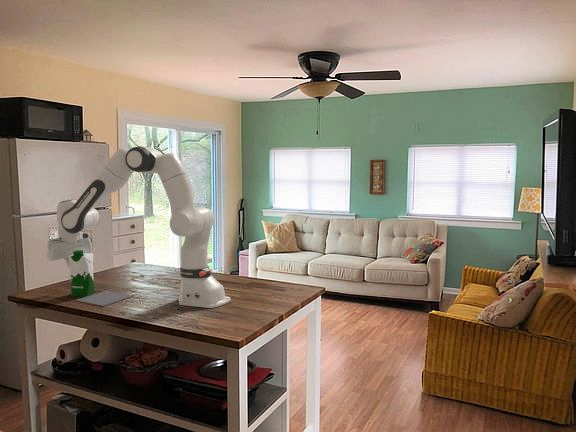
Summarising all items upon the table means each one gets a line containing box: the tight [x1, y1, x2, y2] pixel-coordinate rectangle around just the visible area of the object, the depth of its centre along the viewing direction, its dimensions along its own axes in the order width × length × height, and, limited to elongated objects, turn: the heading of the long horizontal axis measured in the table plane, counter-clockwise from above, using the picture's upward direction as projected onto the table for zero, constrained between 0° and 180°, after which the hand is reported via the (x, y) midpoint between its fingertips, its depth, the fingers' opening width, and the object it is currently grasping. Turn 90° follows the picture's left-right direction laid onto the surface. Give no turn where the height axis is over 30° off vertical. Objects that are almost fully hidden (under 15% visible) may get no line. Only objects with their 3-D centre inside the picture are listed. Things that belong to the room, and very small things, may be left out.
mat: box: [75, 290, 134, 307], centre depth 205 cm, size 17×16×1 cm
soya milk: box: [68, 250, 95, 298], centre depth 210 cm, size 9×9×20 cm
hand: (71, 266), depth 214 cm, fingers closed
